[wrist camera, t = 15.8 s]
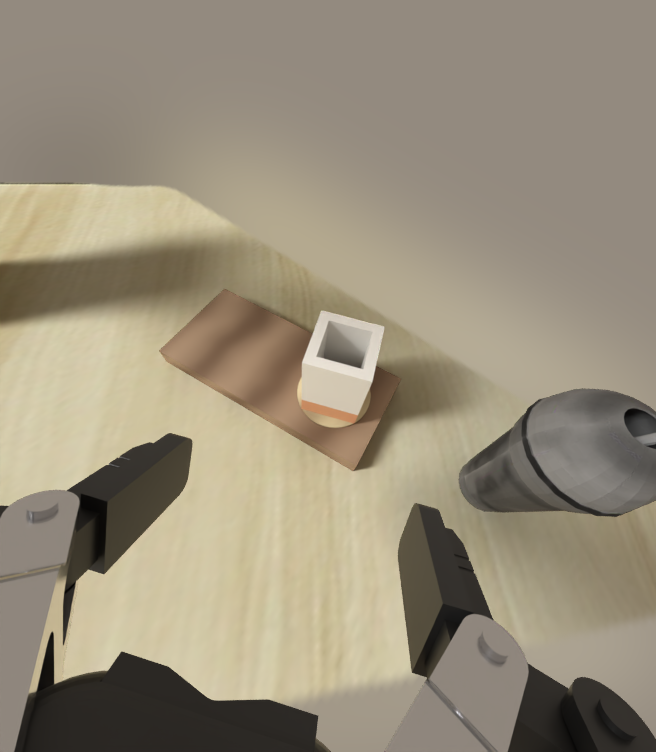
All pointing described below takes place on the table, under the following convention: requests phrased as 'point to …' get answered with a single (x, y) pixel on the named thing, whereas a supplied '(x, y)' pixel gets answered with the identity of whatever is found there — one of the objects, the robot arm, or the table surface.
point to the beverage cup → (569, 458)
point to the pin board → (271, 374)
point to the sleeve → (339, 365)
